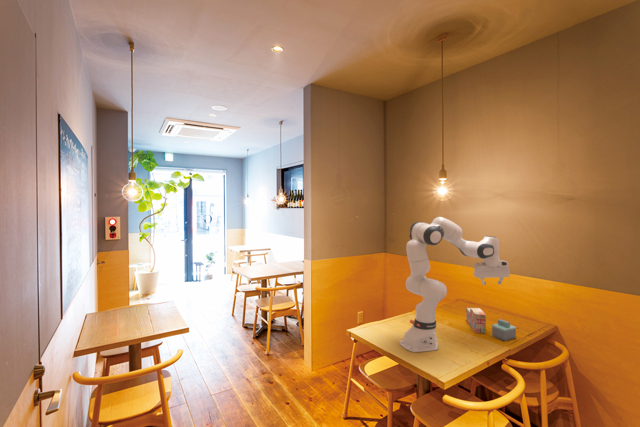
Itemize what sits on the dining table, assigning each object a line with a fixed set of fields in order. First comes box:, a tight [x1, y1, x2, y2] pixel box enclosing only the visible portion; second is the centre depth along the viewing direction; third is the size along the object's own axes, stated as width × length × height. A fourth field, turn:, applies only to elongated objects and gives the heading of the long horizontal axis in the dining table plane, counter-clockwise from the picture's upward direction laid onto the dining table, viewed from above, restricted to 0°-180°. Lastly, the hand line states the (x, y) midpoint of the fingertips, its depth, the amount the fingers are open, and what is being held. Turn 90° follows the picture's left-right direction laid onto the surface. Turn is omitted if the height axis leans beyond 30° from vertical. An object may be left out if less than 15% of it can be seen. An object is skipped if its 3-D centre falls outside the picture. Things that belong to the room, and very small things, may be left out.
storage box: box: [491, 326, 517, 342], centre depth 191 cm, size 10×8×6 cm
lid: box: [491, 319, 517, 331], centre depth 191 cm, size 10×8×5 cm
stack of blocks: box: [465, 307, 487, 334], centre depth 208 cm, size 21×6×12 cm, turn 169°
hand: (491, 284), depth 191 cm, fingers open, 8 cm apart
